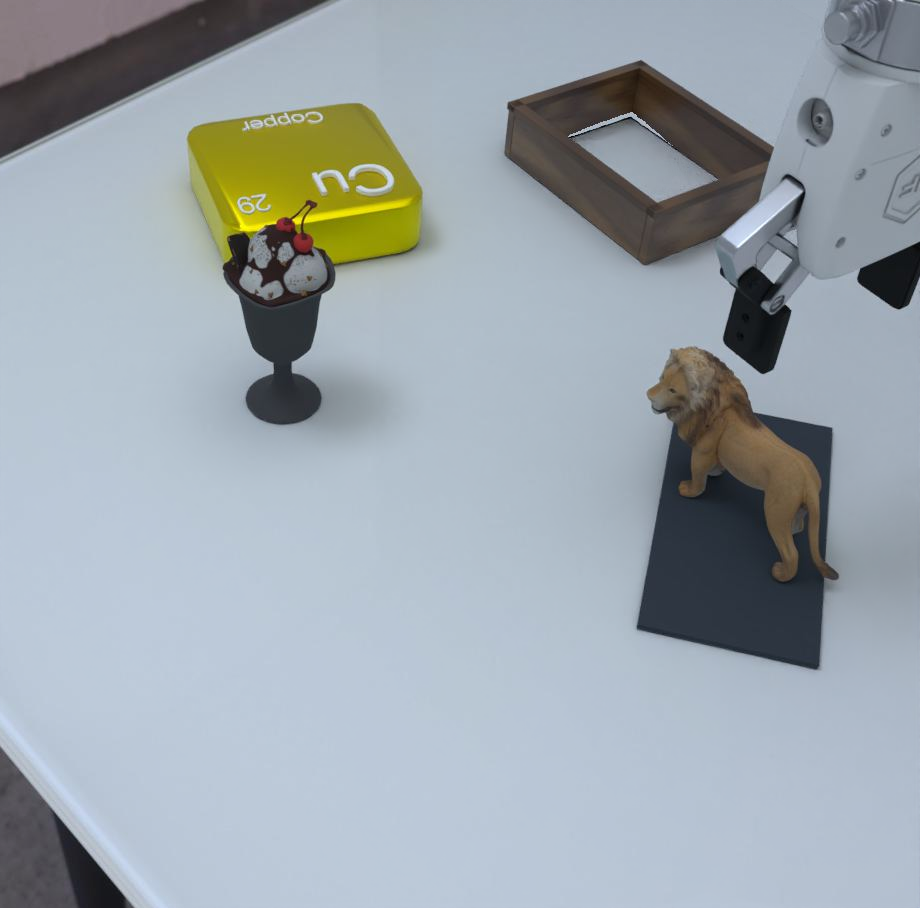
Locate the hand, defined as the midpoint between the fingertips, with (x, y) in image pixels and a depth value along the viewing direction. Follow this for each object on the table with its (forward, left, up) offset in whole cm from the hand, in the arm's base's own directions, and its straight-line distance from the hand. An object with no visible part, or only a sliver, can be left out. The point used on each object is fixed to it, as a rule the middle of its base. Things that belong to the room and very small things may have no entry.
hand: (815, 325), depth 69 cm
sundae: (+19, -24, -15) cm, 34 cm away
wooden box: (-18, -32, -15) cm, 40 cm away
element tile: (+7, -42, -15) cm, 45 cm away
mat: (+1, 0, -15) cm, 15 cm away
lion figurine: (+1, -1, -15) cm, 15 cm away
